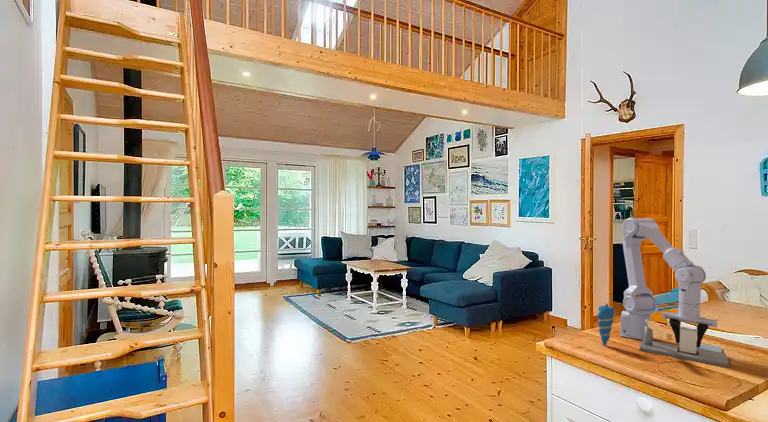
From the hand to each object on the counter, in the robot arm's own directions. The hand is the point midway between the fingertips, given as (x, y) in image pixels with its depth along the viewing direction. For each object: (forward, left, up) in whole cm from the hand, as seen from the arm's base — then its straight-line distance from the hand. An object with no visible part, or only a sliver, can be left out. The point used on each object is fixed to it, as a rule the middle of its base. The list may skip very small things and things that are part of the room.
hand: (688, 344), depth 137 cm
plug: (0, 0, -2) cm, 2 cm away
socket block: (-1, 0, -3) cm, 4 cm away
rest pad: (+5, +12, -3) cm, 13 cm away
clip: (-8, -7, +4) cm, 12 cm away
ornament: (-23, -8, -3) cm, 25 cm away
